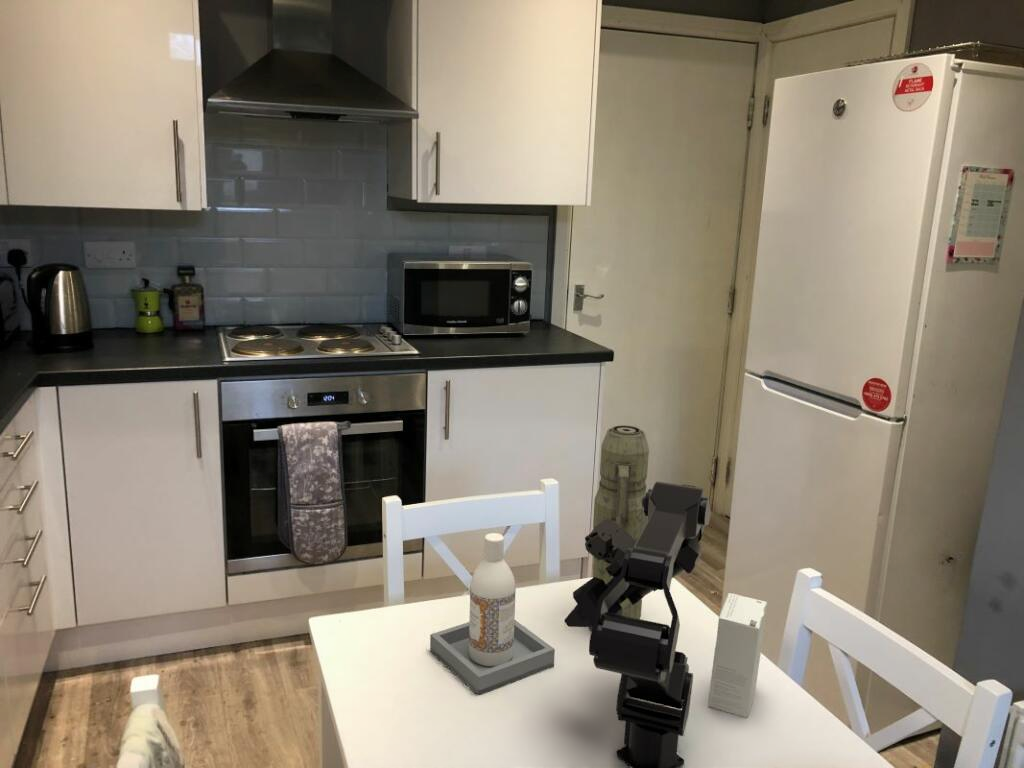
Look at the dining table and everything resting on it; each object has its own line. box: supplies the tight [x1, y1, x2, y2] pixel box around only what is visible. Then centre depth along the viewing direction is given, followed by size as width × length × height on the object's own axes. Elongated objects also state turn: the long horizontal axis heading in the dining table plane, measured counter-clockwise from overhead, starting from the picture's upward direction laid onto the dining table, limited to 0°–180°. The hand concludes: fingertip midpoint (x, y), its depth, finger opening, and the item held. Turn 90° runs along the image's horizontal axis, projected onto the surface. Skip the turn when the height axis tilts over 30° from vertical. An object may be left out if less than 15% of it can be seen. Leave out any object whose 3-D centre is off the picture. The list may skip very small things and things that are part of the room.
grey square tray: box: [429, 619, 556, 696], centre depth 131 cm, size 14×14×3 cm
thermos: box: [587, 424, 650, 632], centre depth 138 cm, size 9×12×35 cm
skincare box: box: [707, 592, 768, 718], centre depth 122 cm, size 8×6×15 cm
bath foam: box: [468, 532, 516, 666], centre depth 129 cm, size 7×7×20 cm
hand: (583, 610), depth 120 cm, fingers open, 9 cm apart
